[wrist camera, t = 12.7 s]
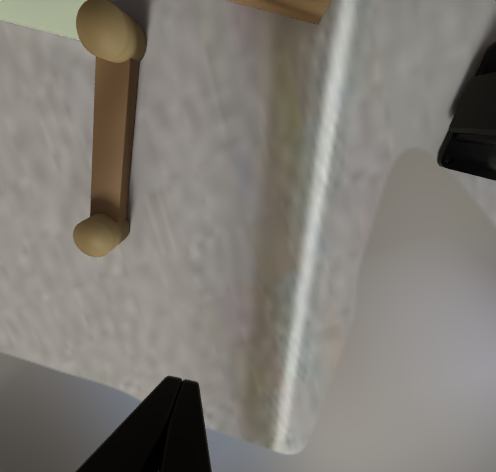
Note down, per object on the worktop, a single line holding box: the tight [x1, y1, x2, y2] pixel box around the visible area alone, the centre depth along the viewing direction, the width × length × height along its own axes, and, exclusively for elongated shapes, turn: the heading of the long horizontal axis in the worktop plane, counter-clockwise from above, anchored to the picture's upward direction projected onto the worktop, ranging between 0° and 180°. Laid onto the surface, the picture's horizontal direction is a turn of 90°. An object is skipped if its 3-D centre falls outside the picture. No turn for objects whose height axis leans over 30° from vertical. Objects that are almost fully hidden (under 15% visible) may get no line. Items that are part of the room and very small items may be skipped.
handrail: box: [73, 0, 146, 257], centre depth 17 cm, size 2×13×2 cm, turn 167°
